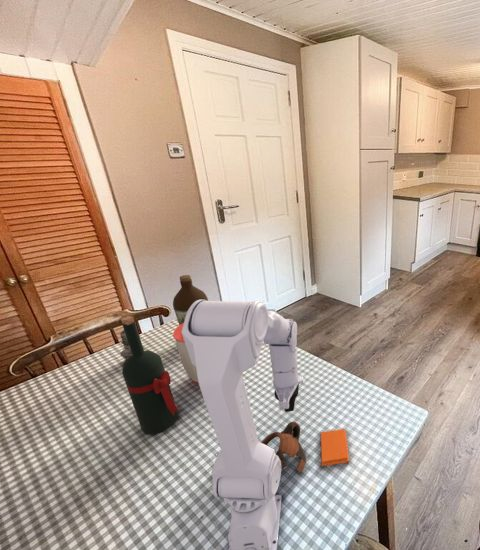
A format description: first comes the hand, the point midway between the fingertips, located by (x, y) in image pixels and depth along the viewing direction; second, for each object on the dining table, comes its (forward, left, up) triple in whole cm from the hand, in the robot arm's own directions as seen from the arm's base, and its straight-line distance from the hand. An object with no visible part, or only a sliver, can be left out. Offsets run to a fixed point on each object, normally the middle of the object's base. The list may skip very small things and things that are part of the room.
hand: (289, 409), depth 76 cm
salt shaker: (+33, +52, -4) cm, 62 cm away
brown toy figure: (-11, 0, -4) cm, 12 cm away
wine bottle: (+4, +31, -4) cm, 32 cm away
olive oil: (+42, +35, -4) cm, 55 cm away
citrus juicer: (+21, +23, -4) cm, 32 cm away
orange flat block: (-10, -11, -4) cm, 15 cm away
